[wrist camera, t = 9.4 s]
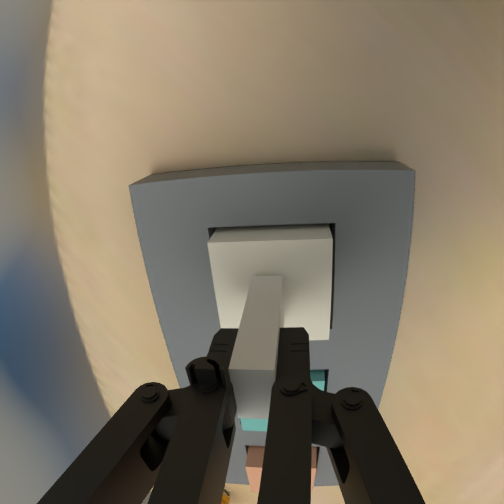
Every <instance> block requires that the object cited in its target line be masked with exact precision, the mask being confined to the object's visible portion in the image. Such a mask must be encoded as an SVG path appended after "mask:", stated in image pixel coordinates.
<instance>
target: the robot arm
mask: <svg viewBox="0 0 504 504" xmlns="http://www.w3.org/2000/svg"><path fill="white" fill-rule="evenodd" d="M185 369H186V373H187V376H188V379H189V383H190V386H187V387H185V388H180V389H174V390H167V388H166V387H165V386H164V385H162V384H160V383H156V382H151V383H146V384H143V385H141V386H140V387H138V388H137V389H136V390H135V391H134V392H133V394H132V395H131V396H130V397H129V398H128V399H127V400H126V402H125V403H124V404H123V405H122V406H121V407H120V409H119V410H118V411H117V412H116V413H115V414H114V415H113V417H112V418H111V419H110V420H109V421H108V422H107V424H106V425H105V426H104V427H103V428H102V429H101V430H100V432H99V433H98V434H97V435H96V436H95V437H94V439H93V440H92V441H91V442H90V443H89V444H88V446H87V447H86V448H85V449H84V450H83V451H82V452H81V454H80V455H79V456H78V457H77V458H76V459H75V461H74V462H73V463H72V464H71V465H70V466H69V467H68V469H67V470H66V471H65V472H64V473H63V474H62V475H61V477H60V478H59V479H58V480H57V481H56V482H55V484H54V485H53V486H52V487H51V488H50V489H49V490H48V491H47V493H46V494H45V495H44V496H43V497H42V498H41V500H40V501H39V502H38V503H37V504H141V503H142V502H143V500H144V499H145V497H146V496H147V494H148V493H149V491H150V490H151V489H152V487H153V486H154V487H153V490H152V492H151V495H150V498H149V501H148V504H221V501H222V496H223V491H224V486H225V481H226V476H227V472H228V467H229V462H230V457H231V452H232V447H233V442H234V436H235V431H236V425H235V416H236V411H237V416H238V418H248V419H268V425H267V434H266V442H265V450H264V458H263V466H262V473H261V481H260V488H259V495H258V502H257V504H310V501H311V460H312V444H316V445H320V446H324V447H326V448H327V451H328V454H329V457H330V460H331V463H332V466H333V469H334V472H335V475H336V478H337V480H338V483H339V486H340V489H341V492H342V495H343V498H344V501H345V504H425V502H424V500H423V498H422V496H421V494H420V491H419V489H418V487H417V485H416V483H415V481H414V479H413V477H412V475H411V473H410V471H409V469H408V467H407V465H406V463H405V461H404V459H403V457H402V455H401V453H400V451H399V449H398V447H397V445H396V443H395V441H394V440H393V438H392V436H391V434H390V432H389V430H388V428H387V426H386V424H385V422H384V420H383V418H382V416H381V414H380V413H379V411H378V409H377V407H376V405H375V403H374V401H373V399H372V397H371V396H370V395H369V394H368V392H367V391H365V390H363V389H361V388H357V387H347V388H344V389H341V390H339V391H338V392H337V393H336V394H334V393H329V392H325V391H322V390H320V389H318V388H317V387H316V386H315V385H314V384H313V383H312V381H311V377H310V350H309V334H308V333H307V331H306V330H305V328H304V327H287V328H284V297H283V276H282V275H273V276H252V278H251V282H250V286H249V290H248V294H247V298H246V302H245V306H244V310H243V314H242V318H241V322H240V326H239V328H221V329H220V330H219V331H218V332H217V333H216V334H215V335H214V337H213V339H212V342H211V345H210V348H209V352H208V354H207V356H206V357H199V358H196V359H194V360H192V361H191V362H189V363H188V364H187V366H186V367H185Z"/></svg>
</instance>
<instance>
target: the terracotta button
mask: <svg viewBox="0 0 504 504" xmlns="http://www.w3.org/2000/svg"><path fill="white" fill-rule="evenodd" d="M264 450H265V446H251V445H249V448H248V454H247V460H246V465H245V468H246V472H247V476H248V480H249V484H250V488H251V492H259V488H260V481H261V473H262V466H263V458H264ZM316 455H317V446H316V447H312V460H311V493H312V492H313V486H314V480H315V474H316Z"/></svg>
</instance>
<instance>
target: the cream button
mask: <svg viewBox="0 0 504 504" xmlns="http://www.w3.org/2000/svg"><path fill="white" fill-rule="evenodd" d="M207 244H208V251H209V258H210V264H211V271H212V277H213V284H214V290H215V296H216V302H217V308H218V314H219V320H220V326H221V328H239V326H240V322H241V318H242V314H243V310H244V306H245V302H246V298H247V294H248V290H249V286H250V282H251V278H252V276H273V275H282V276H283V297H284V328H287V327H304V328H305V330H306V331H307V333H308V334H309V340H329V331H330V313H331V289H332V249H333V238H332V235H331V231H330V228H329V225H328V223H316V224H285V225H258V226H234V227H217V229H216V230H215V232H214V233H213V235H212V236H211V238H210V239H209V241H208V242H207Z"/></svg>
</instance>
